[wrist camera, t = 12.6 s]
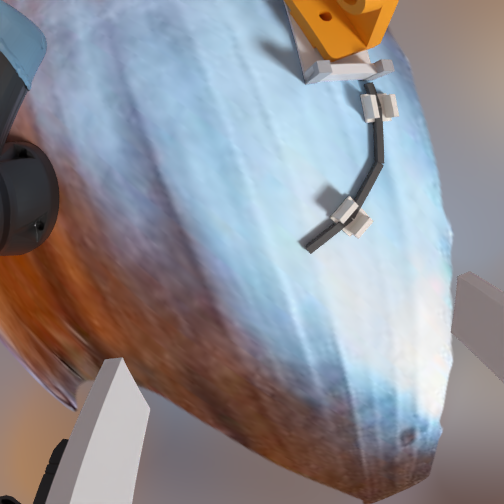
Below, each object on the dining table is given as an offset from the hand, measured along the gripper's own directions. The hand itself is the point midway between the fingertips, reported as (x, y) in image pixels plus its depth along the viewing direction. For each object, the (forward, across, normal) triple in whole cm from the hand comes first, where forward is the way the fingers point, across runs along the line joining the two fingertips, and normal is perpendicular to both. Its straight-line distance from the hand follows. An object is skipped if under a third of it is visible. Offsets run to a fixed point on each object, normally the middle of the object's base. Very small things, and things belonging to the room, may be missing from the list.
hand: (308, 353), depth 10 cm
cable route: (+27, +13, +3) cm, 30 cm away
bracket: (+26, +14, +22) cm, 37 cm away
